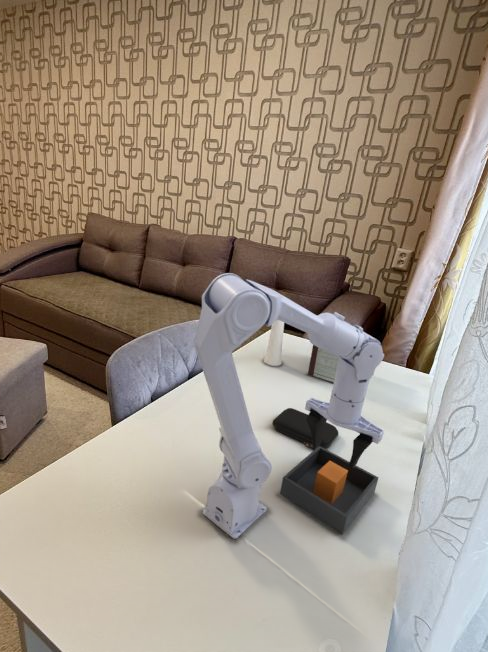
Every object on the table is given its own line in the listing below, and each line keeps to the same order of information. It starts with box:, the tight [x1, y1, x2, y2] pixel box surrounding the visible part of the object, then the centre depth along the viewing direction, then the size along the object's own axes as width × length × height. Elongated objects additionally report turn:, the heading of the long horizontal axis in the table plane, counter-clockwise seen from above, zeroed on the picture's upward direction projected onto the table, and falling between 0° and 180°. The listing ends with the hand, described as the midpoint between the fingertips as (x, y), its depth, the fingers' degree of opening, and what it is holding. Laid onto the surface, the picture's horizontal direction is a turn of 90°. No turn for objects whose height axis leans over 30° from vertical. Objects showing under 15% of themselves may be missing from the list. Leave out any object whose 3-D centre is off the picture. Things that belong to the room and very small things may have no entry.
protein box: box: [307, 321, 362, 384], centre depth 127 cm, size 10×15×16 cm
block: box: [313, 461, 348, 505], centre depth 77 cm, size 5×4×6 cm
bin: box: [279, 446, 379, 535], centre depth 78 cm, size 14×13×4 cm
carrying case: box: [271, 407, 340, 450], centre depth 96 cm, size 11×3×15 cm
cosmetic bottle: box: [263, 320, 285, 367], centre depth 129 cm, size 6×6×22 cm
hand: (334, 455), depth 76 cm, fingers open, 7 cm apart
